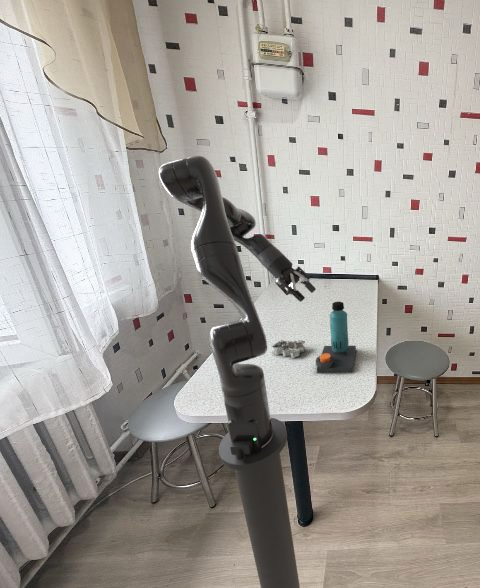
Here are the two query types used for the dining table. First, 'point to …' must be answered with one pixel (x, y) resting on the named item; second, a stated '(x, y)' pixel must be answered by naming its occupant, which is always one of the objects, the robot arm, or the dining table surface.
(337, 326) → the beverage bottle
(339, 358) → the scale
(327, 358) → the button
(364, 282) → the dining table surface
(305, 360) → the dining table surface
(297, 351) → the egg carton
